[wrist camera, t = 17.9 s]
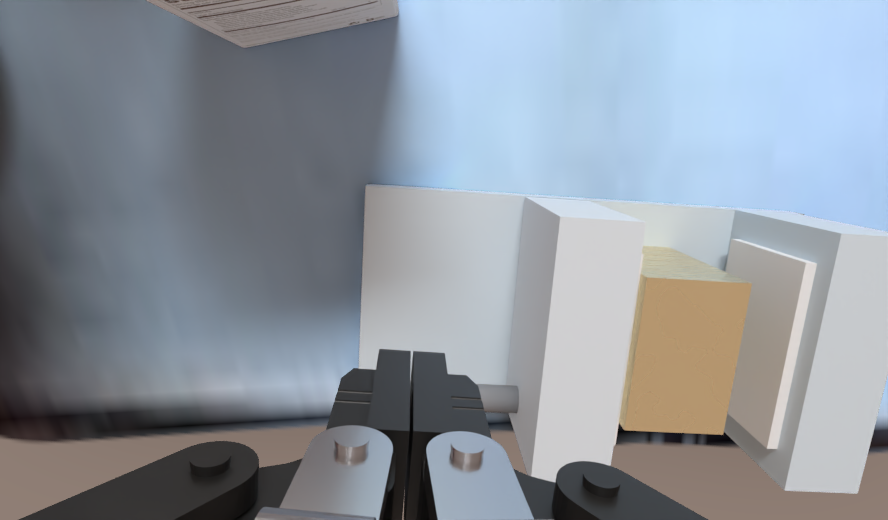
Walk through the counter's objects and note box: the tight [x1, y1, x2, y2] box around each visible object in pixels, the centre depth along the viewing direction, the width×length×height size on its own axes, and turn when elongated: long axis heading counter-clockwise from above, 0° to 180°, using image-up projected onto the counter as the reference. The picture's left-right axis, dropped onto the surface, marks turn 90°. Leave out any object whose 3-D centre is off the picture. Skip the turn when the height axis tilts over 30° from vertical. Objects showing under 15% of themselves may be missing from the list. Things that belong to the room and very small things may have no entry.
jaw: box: [410, 197, 646, 482], centre depth 27 cm, size 10×12×8 cm
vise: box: [359, 184, 888, 493], centre depth 28 cm, size 24×12×10 cm, turn 86°
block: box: [619, 246, 752, 435], centre depth 28 cm, size 4×7×8 cm, turn 176°
